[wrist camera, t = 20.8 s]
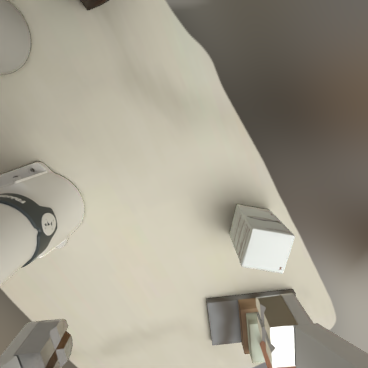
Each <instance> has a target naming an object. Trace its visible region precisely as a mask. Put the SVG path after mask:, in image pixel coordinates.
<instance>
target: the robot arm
mask: <svg viewBox="0 0 368 368" xmlns="http://www.w3.org/2000/svg"><path fill="white" fill-rule="evenodd" d="M32 168H33V169H34V171H33V170H32ZM83 217H84V202H83V199H82V196H81V194H80V192H79V191H78V189H77V188H76V187H75V186H74V185H73V184H72V183H71V182H70V181H69V180H67V179H66V178H64V177H62V176H60V175H58V174H56V173H54V172H52V171H51V170H50V169H49V168H48V167H47V166H46V165H45V164H44V163H42V162H35V163H32V164H29V165H26V166H24V167H21V168H18V169H15V170H12V171H9V172H6V173H4V174H1V175H0V286H1V285H2V284H3V283H5V282H6V281H7V280H8V279H9V278H10V277H11V276H12V275H13V274H14V273H15V272H17V271H18V270H19V269H20V268H22V267H24V266H26V265H28V264H29V263H31V262H33V261H34V260H35V259H36V258H42V257H44V256H45V255H46V254H48V253H49V252H50V251H52V250H53V249H54V248H62V247H63V246H65V245H66V243H67V241H68V239H69V236H70V235H71V234H72V233H73V232H74V231H75V230H76V229H77V228H78V227H79V226H80V224H81V222H82V220H83ZM256 307H257V309H258V313H257V322H258V328H259V332H260V335H261V338H262V341H264V342H265V343H266V352H267V355H268V357H269V360H270V363H271V365H272V368H277V367H291V366H296V368H368V353H366V352H364V351H362V350H361V349H359V348H358V347H356V346H354V345H353V344H351V343H349V342H348V341H346V340H344V339H343V338H341V337H339V336H338V335H336V334H334V333H333V332H331V331H329V330H328V329H326V328H324V327H323V326H321V325H319V324H318V323H315V324H314V323H313V322H312V320H311V319H310V317H309V316H308V314H307V313H306V311H305V310H304V308H303V307H302V305H301V304H300V302H299V301H298V299H297V298H296V296H295V295H294V294H293V293H286V294H280V295H272V296H263V297H256ZM67 328H68V324H67V321H66V320H65V319H56V320H45V321H36V322H29V323H27V324H26V325H25V326H24V327H23V329H22V330H21V331H20V332H19V334H18V335H17V336H16V337H15V339H14V340H13V341H12V342H11V344H10V345H9V346H8V347H7V349H6V350H5V351H4V352H3V354H2V355H1V356H0V368H61V367H62V366H63V365H64V364H65V363H66V362H67V361H68V359H69V357H70V355H71V351H72V346H73V344H72V337H71V335H70V334H69V333H68V332H67V331H66V330H67Z"/></svg>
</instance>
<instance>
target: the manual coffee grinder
mask: <svg viewBox="0 0 368 368" xmlns="http://www.w3.org/2000/svg"><path fill="white" fill-rule="evenodd" d="M80 1H81V2H82V3H83V4H84V6H85V7H86V9H87V10H90V9H93V8H95V7H98V6H100V5H102V4H104V3H105V2H107V1H109V0H80Z"/></svg>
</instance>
